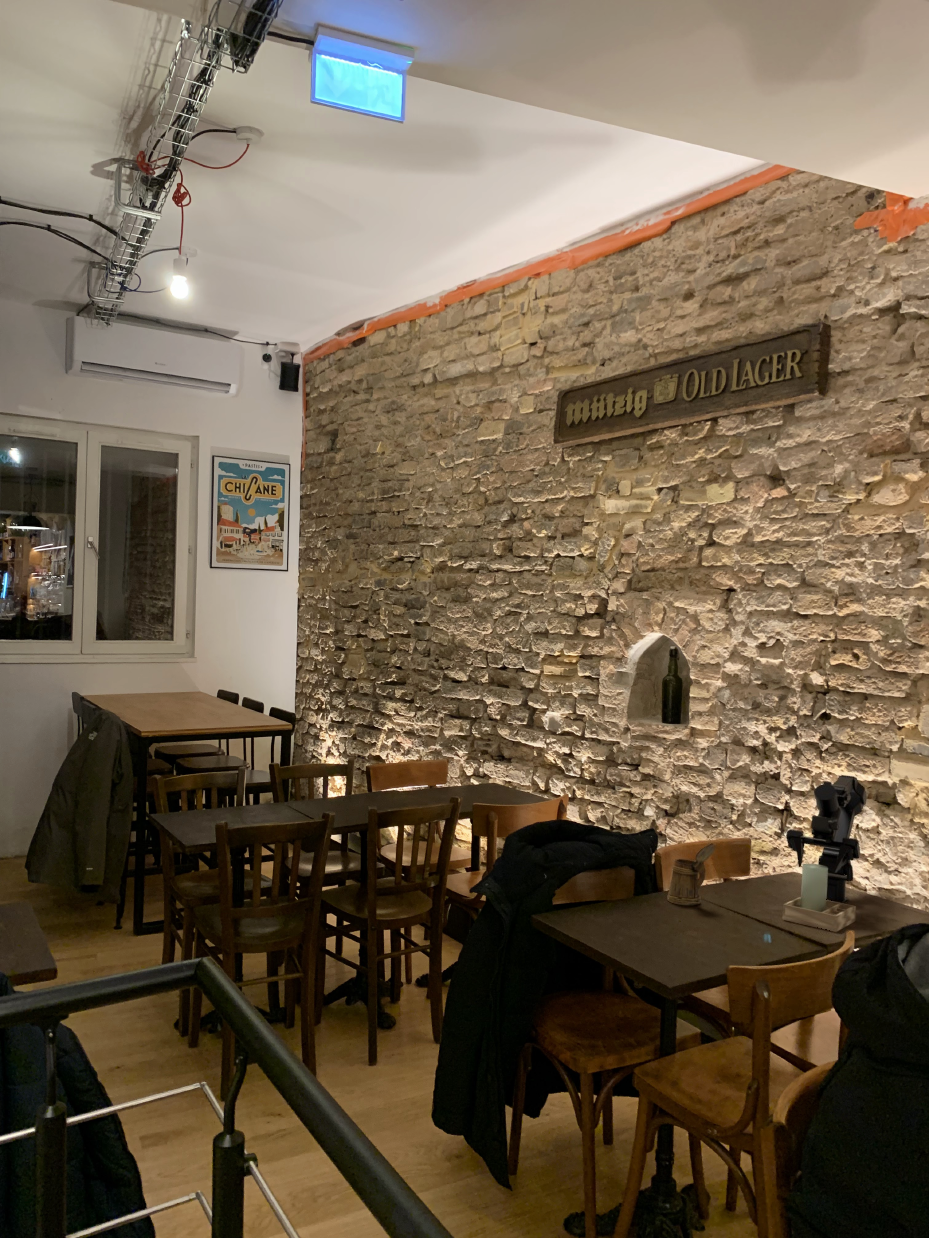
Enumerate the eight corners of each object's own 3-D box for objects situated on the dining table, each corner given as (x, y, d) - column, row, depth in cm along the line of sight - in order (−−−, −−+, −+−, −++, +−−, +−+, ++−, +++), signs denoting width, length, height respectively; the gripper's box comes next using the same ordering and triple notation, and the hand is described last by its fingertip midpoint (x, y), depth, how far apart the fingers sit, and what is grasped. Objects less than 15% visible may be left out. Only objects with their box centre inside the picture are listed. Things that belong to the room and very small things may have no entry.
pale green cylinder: (799, 910, 260) (801, 862, 261) (824, 913, 258) (826, 865, 259) (801, 916, 254) (803, 867, 254) (826, 919, 252) (829, 870, 253)
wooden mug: (698, 911, 257) (702, 844, 257) (660, 899, 268) (663, 834, 268) (719, 907, 262) (723, 841, 263) (681, 895, 273) (684, 832, 273)
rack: (803, 909, 265) (803, 895, 265) (855, 921, 256) (855, 906, 256) (782, 919, 254) (783, 904, 254) (836, 931, 245) (836, 916, 245)
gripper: (789, 800, 268) (777, 845, 259) (860, 809, 258) (850, 857, 249) (795, 824, 275) (783, 869, 265) (864, 834, 265) (854, 882, 255)
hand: (816, 869), depth 258 cm, fingers open, 9 cm apart
